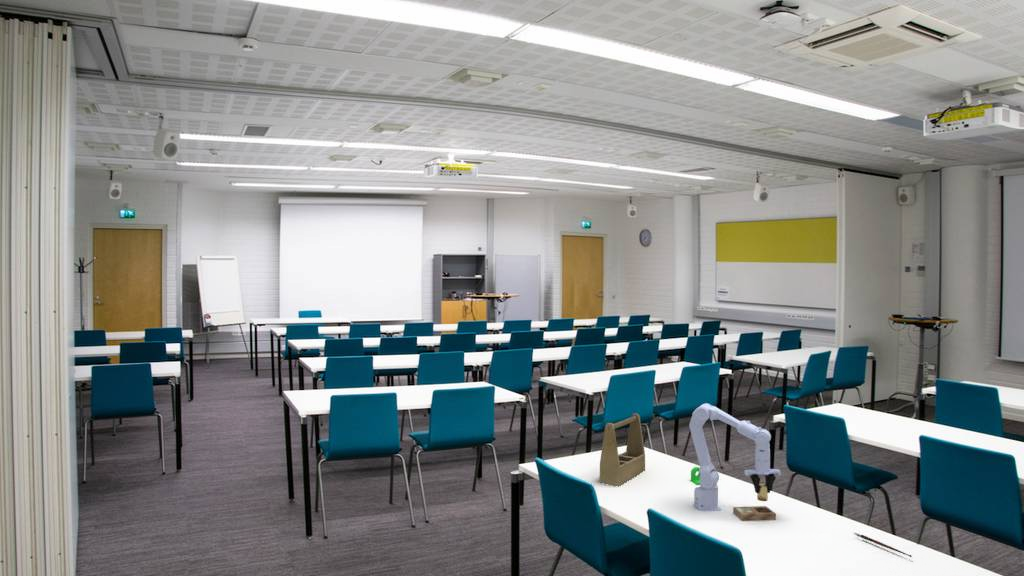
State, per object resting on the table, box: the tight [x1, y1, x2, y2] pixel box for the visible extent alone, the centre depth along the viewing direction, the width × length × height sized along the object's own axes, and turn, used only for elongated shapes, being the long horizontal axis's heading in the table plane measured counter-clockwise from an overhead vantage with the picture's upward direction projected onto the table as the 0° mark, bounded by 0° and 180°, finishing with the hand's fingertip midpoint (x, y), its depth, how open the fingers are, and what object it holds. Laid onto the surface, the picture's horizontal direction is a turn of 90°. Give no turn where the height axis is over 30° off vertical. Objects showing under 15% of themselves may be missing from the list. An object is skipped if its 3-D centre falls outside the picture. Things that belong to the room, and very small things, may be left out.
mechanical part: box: [690, 466, 718, 486], centre depth 316 cm, size 12×6×8 cm, turn 105°
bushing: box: [756, 483, 769, 502], centre depth 273 cm, size 4×4×6 cm
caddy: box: [599, 413, 646, 488], centre depth 325 cm, size 29×11×30 cm, turn 144°
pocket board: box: [732, 505, 777, 522], centre depth 273 cm, size 14×9×3 cm, turn 94°
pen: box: [853, 532, 913, 558], centre depth 243 cm, size 1×1×23 cm
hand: (762, 492), depth 273 cm, fingers closed on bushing, 4 cm apart
